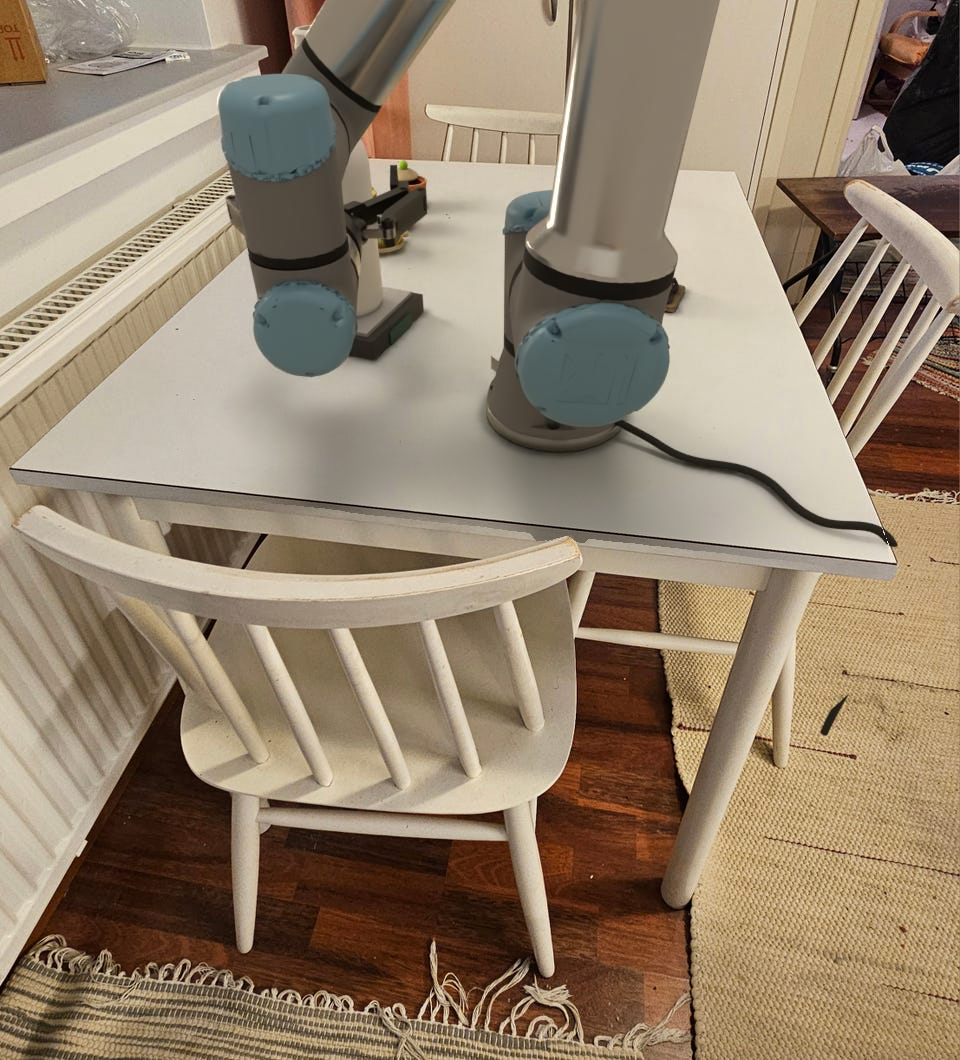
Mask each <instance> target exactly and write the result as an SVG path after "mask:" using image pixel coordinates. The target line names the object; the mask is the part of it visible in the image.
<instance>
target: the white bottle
mask: <svg viewBox="0 0 960 1060" xmlns="http://www.w3.org/2000/svg"><path fill="white" fill-rule="evenodd" d="M310 26H311V24H309V25H308V24H307V25H301V26H297V27H295V28H294V29H293V30H292V32H291V33H292V34H291V35H292V36H293V37H294V43H293V47H294V49H295V50H296V49H297V47H298V46H299V44H300V43H301V42H302V40H303V38H304V37H305V35H306V32H307V31H308V29H309V27H310ZM370 167H371V166H370V158H369V155H368V152H367V149H366V146H365V143H364V142H363V140H362V138H361V139H360V140H359V142H358V143H357V144H356V146H355V148H354V149H353V151H352V152H351V154H350V157H349V161H348V164H347V166H346V170H345V173H344V176H343V179H342V195H343V204H344V205H345V204H347V203H349V202H352V201H357V202H361V203H362V202H365V201H367V200H369V199H372V198H373V194H372V187H373V186H372V178H371V168H370ZM352 215H353V213H352ZM382 287H383V281H382V271H381V261H380V253H379V251H378V241H377V239H368V241H367V242H366V243H365V244H364V245H363V246H362V254H361V267H360V277H359V286H358V296H357V313H356V317H358V316H363V315H366V314H368V313H371V312H373V311H374V310H375V309H377V307H378V306H379V304H380V302H381V300H382V298H383V289H382Z"/></svg>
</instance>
